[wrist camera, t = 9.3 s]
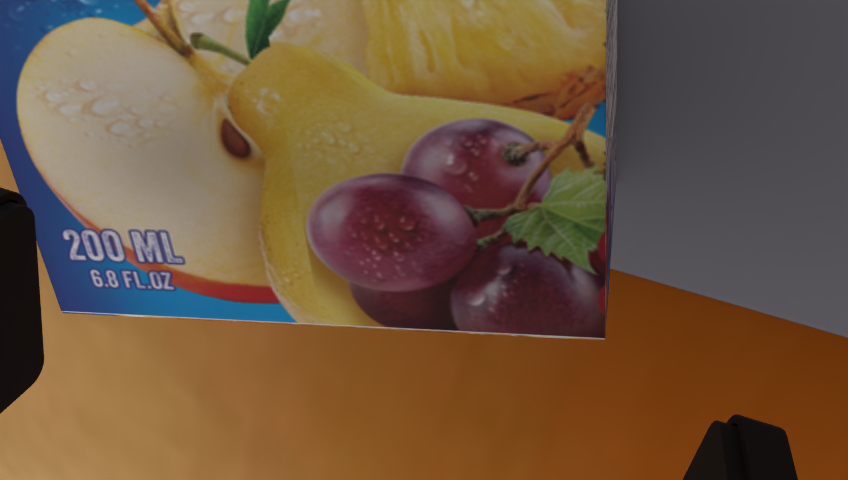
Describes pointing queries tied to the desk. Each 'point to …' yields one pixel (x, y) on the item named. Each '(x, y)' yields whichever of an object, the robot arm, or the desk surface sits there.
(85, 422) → the desk surface
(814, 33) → the mat
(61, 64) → the juice carton
